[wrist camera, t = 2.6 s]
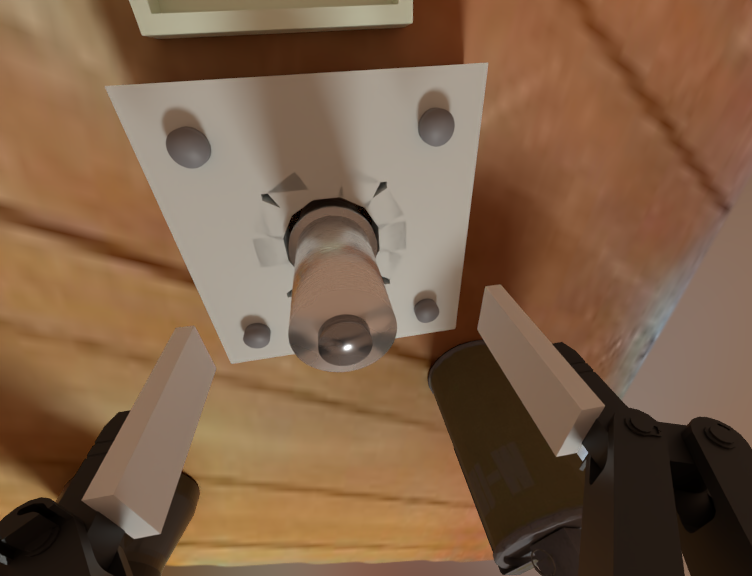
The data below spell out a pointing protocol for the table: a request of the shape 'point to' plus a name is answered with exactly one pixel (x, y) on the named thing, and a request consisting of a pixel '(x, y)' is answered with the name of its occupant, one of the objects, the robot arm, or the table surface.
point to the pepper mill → (337, 289)
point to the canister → (509, 466)
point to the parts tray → (265, 16)
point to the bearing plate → (311, 184)
